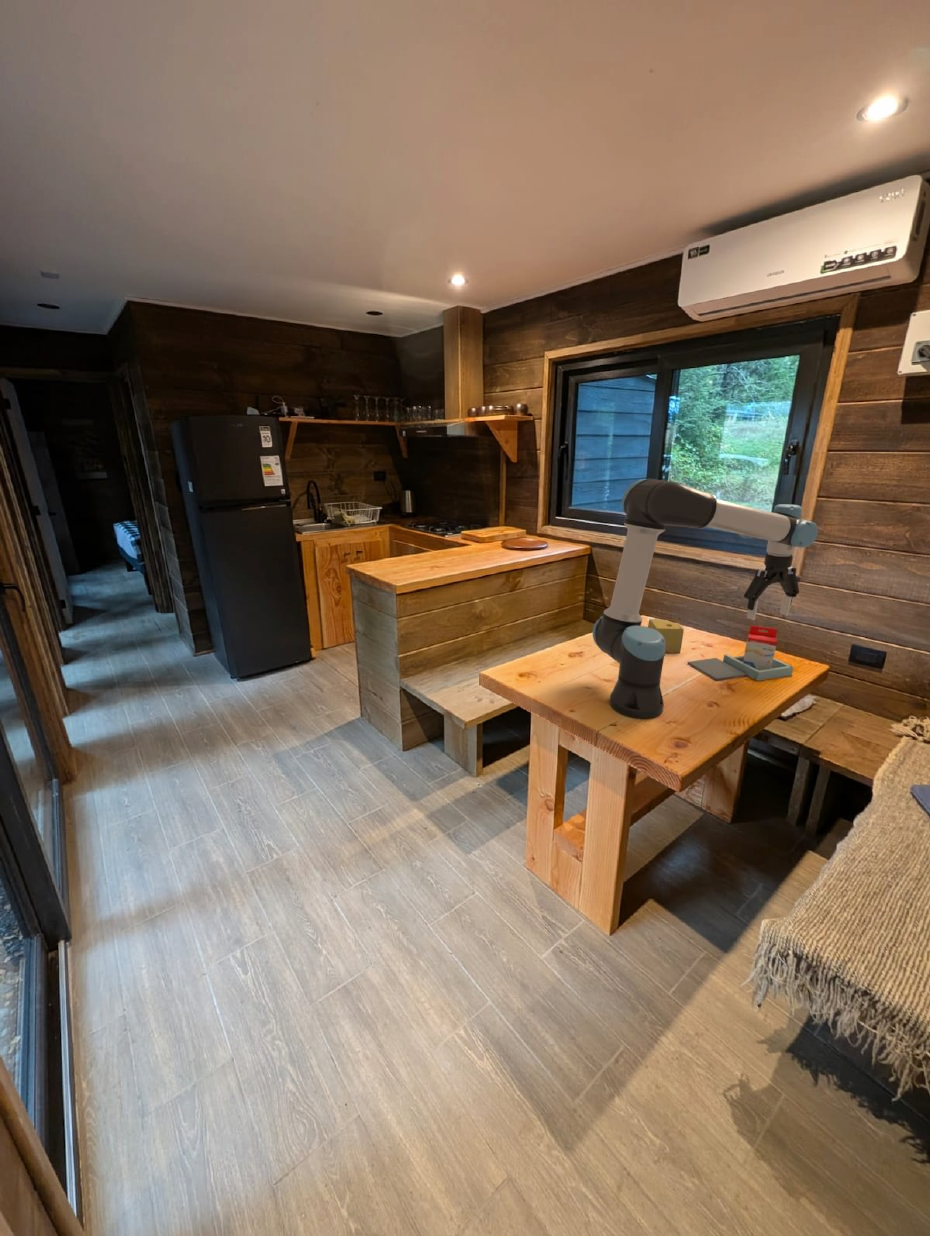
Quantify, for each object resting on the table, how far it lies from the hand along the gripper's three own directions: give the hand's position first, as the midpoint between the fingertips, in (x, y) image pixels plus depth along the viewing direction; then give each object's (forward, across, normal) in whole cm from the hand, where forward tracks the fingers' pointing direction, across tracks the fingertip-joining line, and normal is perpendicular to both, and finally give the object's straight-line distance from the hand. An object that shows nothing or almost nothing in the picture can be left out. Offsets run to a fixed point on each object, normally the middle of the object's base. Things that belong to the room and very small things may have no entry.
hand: (767, 616), depth 167 cm
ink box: (+19, 0, 0) cm, 19 cm away
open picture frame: (+19, 0, 0) cm, 19 cm away
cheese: (+19, -20, +25) cm, 37 cm away
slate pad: (+19, -14, +3) cm, 24 cm away
